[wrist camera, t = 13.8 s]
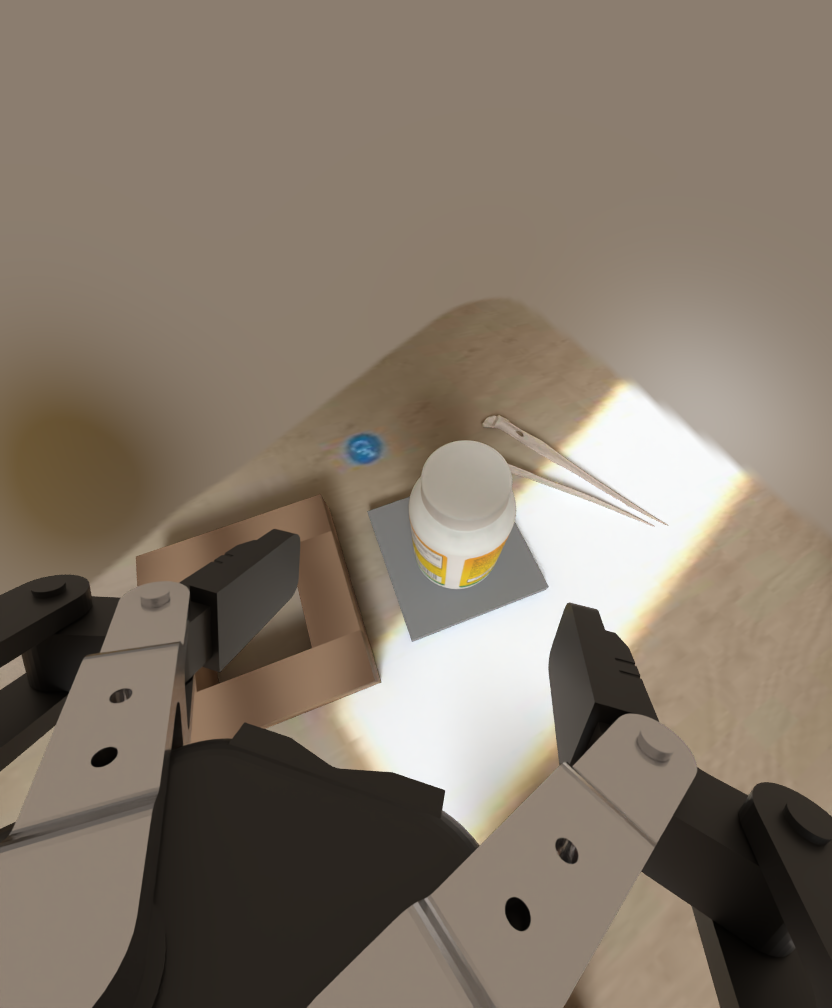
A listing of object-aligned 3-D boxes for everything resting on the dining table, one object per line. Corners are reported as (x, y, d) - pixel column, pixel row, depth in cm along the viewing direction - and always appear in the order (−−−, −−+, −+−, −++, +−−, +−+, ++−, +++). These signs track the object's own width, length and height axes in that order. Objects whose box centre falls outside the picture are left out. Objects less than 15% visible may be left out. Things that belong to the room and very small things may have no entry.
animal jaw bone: (458, 462, 30) (461, 448, 29) (487, 419, 32) (492, 403, 30) (682, 585, 27) (702, 578, 25) (702, 529, 28) (723, 519, 27)
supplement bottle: (408, 584, 25) (392, 526, 16) (421, 507, 27) (413, 421, 19) (494, 596, 25) (525, 543, 16) (500, 517, 27) (530, 432, 18)
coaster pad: (486, 475, 29) (487, 469, 28) (545, 589, 25) (548, 586, 25) (369, 516, 28) (367, 511, 27) (412, 641, 24) (411, 640, 24)
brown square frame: (329, 509, 29) (320, 493, 26) (381, 682, 23) (375, 681, 21) (160, 568, 27) (135, 556, 25) (176, 764, 22) (147, 771, 20)
